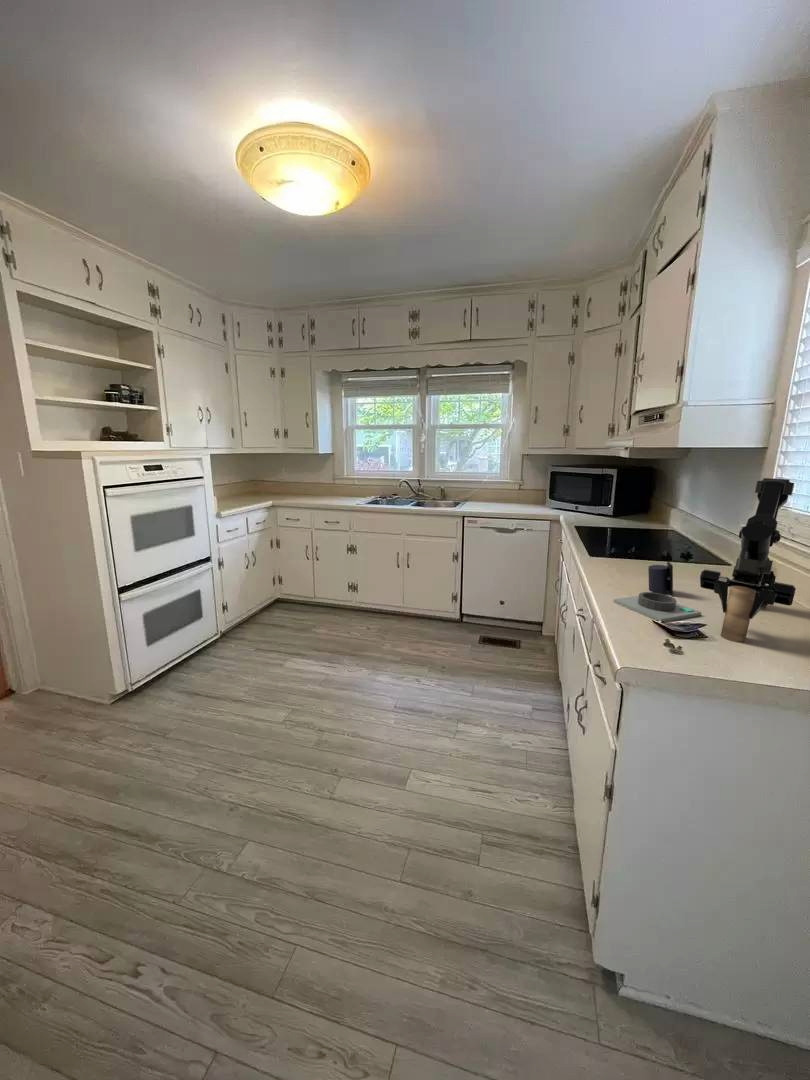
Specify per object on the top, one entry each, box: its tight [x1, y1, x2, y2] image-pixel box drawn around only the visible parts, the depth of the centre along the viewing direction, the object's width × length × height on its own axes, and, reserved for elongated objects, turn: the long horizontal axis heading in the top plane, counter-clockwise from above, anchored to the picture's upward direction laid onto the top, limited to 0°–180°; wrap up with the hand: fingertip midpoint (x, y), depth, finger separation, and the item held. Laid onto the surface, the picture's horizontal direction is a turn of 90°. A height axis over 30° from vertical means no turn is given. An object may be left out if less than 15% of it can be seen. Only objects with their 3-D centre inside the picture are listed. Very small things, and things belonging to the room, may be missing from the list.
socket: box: [613, 591, 702, 622], centre depth 126 cm, size 16×16×4 cm
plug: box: [720, 586, 756, 643], centre depth 107 cm, size 5×5×13 cm
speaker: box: [647, 560, 674, 597], centre depth 141 cm, size 8×6×10 cm
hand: (737, 614), depth 106 cm, fingers closed on plug, 5 cm apart
